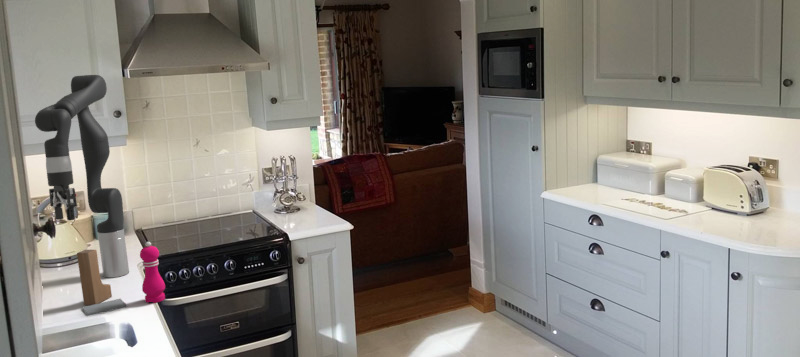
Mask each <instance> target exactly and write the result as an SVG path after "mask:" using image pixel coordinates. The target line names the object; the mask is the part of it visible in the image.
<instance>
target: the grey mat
mask: <svg viewBox="0 0 800 357" xmlns="http://www.w3.org/2000/svg"><path fill="white" fill-rule="evenodd" d="M126 307H128V305H127V303H126V302H125V301H123V300H122V299H121V298H116V299H112V300H106V301H103V302H101V303H99V304H94V305H85V306H82V308H81V309H82V311H84V313H85V314H86V315H87V316H92V315H96V314H100V313H104V312H108V311H113V310H116V309H121V308H126Z"/></svg>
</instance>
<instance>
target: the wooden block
mask: <svg viewBox="0 0 800 357" xmlns="http://www.w3.org/2000/svg"><path fill="white" fill-rule="evenodd" d="M76 257H77V264H78V265H77V266H78V271H79V279H80V286H81V293H82V300H83V306H90V305H94V304H99V303H103V302H105V301H107V300H108V299H110V298H112V297H113V296H112V287H111V284H109V283H107V284H106V283H103V282H102V279H101V273H100V267H99V266H100V265H99V257H98V250H97V249H83V250H80V251H79V252H77V253H76Z"/></svg>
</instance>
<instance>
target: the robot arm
mask: <svg viewBox="0 0 800 357" xmlns="http://www.w3.org/2000/svg"><path fill="white" fill-rule="evenodd" d="M70 89H71V90H70V91H71V92H70V93H69V94H67V95H65V96H63V97H61V99H59V100H58V101H57V102H55V103H54V104H51V105H49V106H46V107H44V108H42V109H40V110H39V111H38V112H37V114H36V115H35V118H34V125H35V127H36V128H37V129H38V130H40V132H44V133H49V132H56V134H55V137H53V138H49V139H46V140H45V141H44V153H45V169H46V178H47V185H48V186H49V187H53V188H49V190H48V193H49V194H48V195H49V202H50V207H52V208H53V209H54V215H55V220H56V221H61V220H63V219H64V212H63V205H64V207H65V212H66V213H65V215H66V220H67V221H68V222H69V221H74V220H75V219H76V216H75V210H74V209H75V207H77V206H78V202H77V197H76V196H77V195H76V189H75V187H70V185H73V184H74V175H73V166H72V160H71V157H70V156H71V155H70V149H69V142H70V141H69V139H70V132H71V127H72V119H74V118H75V117H76V116H77V117H76V118H77V122H78V128H79V135H80V143H81V144H80V145H81V149H82V150H81V151H82V155H83V160H84V168H85V176H86V191H87V203H88V206H89V209H90V211H91V212H92V213H95V214H107V219H106V220H104V221H101V222H99V223H98V224H97V225H96V230H97V231H96V232H97V239H98V247H99V253H100V260H101V268H102V273H103V274H102V275H103V277H104V278H118V277H122V276H125V275H128V274H129V273H130V266H129V260H128V259H129V258H128V254H127V253H128V252H127V245H126V244H127V243H126V235H125V228H124V220H125V219H124V218H125V217H124V207H123V205H124V204H123V196H122V193H121V191H120V190H119V188H116V187H108V188H102V182H101V181H102V180H101V178H102V173H103V169H104V167H105V166H106V164H107V162H108V159H109V157H110V153H111V152H110V144H109V137H108V134H107V132H106V131H105V129H104V128H103V127H102V126H101V124H100V123H99V122H98V121H97V120H96V119H95V117H94V115H93V114H92V112H91V110H90V107H89V106H90V105H92V104H94V103H96V102H98V101H100V100H103V99H104V98H105V96H106V93H107V89H108V88H107V83H106V81H105V79H104V77H103V76H101V75H99V74H86V75H76V76H75V75H74V76H73V77H72V79H71V81H70Z"/></svg>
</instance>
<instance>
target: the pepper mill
mask: <svg viewBox="0 0 800 357" xmlns="http://www.w3.org/2000/svg"><path fill="white" fill-rule="evenodd" d="M139 257H140V259H141V260H142V267H144V271H145V274H144V275H145V276H144V279H143V282H142V288H141V289H142V290H141V291H142V293H144V294H145V296H144V301H146V302H145V303H147V302H148V303H147V304H150V303H149V302H153V303H152V304H156V303H161V302H163V301H165V299H166V295H165V294H166V293H165V292H164V291H165V289H166V284H165V281H164V280H163V277H162V276H161V274H160V272H159V269H158V266H159V264H160V263H159V259H158V258H159V257H160V251H159V249H158V248H157V247H156V246H154V245H152V242H150V241H146V242H145V246H144V247H143V248H142V249H140V252H139Z"/></svg>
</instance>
